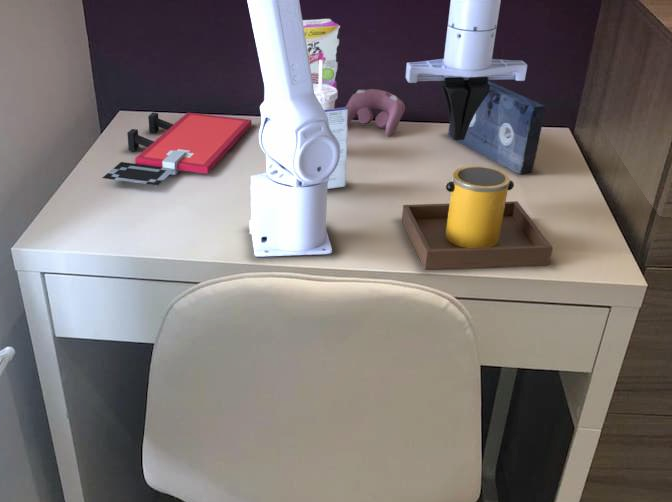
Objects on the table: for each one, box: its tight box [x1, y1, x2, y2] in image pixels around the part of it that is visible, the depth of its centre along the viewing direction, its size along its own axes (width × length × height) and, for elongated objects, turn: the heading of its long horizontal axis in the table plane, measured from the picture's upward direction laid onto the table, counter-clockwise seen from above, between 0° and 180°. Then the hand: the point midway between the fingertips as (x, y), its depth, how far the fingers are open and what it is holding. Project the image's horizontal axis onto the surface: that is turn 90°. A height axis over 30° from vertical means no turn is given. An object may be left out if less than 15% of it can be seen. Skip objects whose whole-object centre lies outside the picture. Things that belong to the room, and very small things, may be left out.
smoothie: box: [313, 60, 339, 110], centre depth 125 cm, size 6×6×14 cm
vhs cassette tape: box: [447, 80, 547, 175], centre depth 127 cm, size 18×3×10 cm, turn 25°
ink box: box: [265, 106, 349, 190], centre depth 115 cm, size 12×2×12 cm, turn 108°
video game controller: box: [345, 88, 406, 137], centre depth 138 cm, size 10×5×7 cm, turn 58°
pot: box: [445, 165, 515, 248], centre depth 102 cm, size 8×10×10 cm
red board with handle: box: [102, 112, 252, 187], centre depth 128 cm, size 30×3×15 cm
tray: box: [401, 200, 554, 270], centre depth 104 cm, size 15×13×2 cm
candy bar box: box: [263, 18, 341, 109], centre depth 134 cm, size 11×5×16 cm, turn 107°
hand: (457, 137), depth 107 cm, fingers closed
